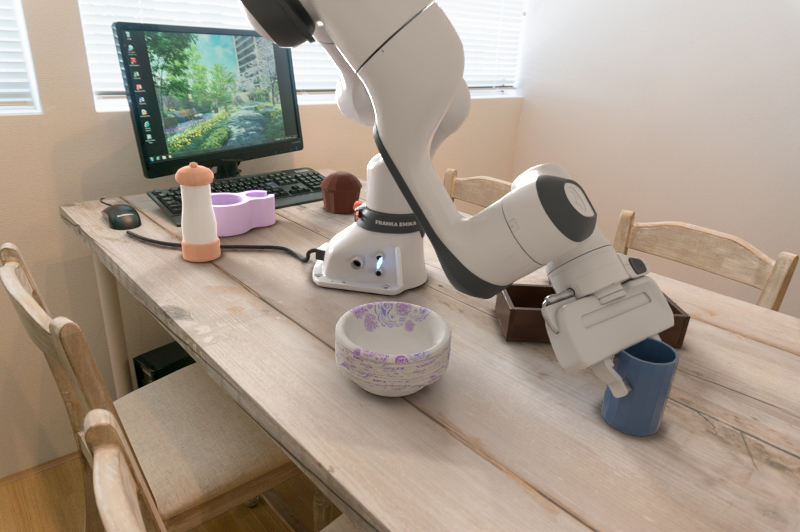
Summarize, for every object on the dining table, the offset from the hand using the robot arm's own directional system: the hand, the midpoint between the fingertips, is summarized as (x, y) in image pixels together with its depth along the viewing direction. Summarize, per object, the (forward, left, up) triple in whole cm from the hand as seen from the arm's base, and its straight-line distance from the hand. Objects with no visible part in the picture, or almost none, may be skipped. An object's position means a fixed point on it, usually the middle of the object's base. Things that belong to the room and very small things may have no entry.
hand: (644, 384), depth 64 cm
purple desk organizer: (-68, +69, -6) cm, 97 cm away
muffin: (-44, +88, -6) cm, 98 cm away
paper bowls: (-30, +8, -6) cm, 32 cm away
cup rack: (+2, +24, -5) cm, 24 cm away
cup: (0, +1, -5) cm, 5 cm away
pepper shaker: (-69, +49, -6) cm, 85 cm away
